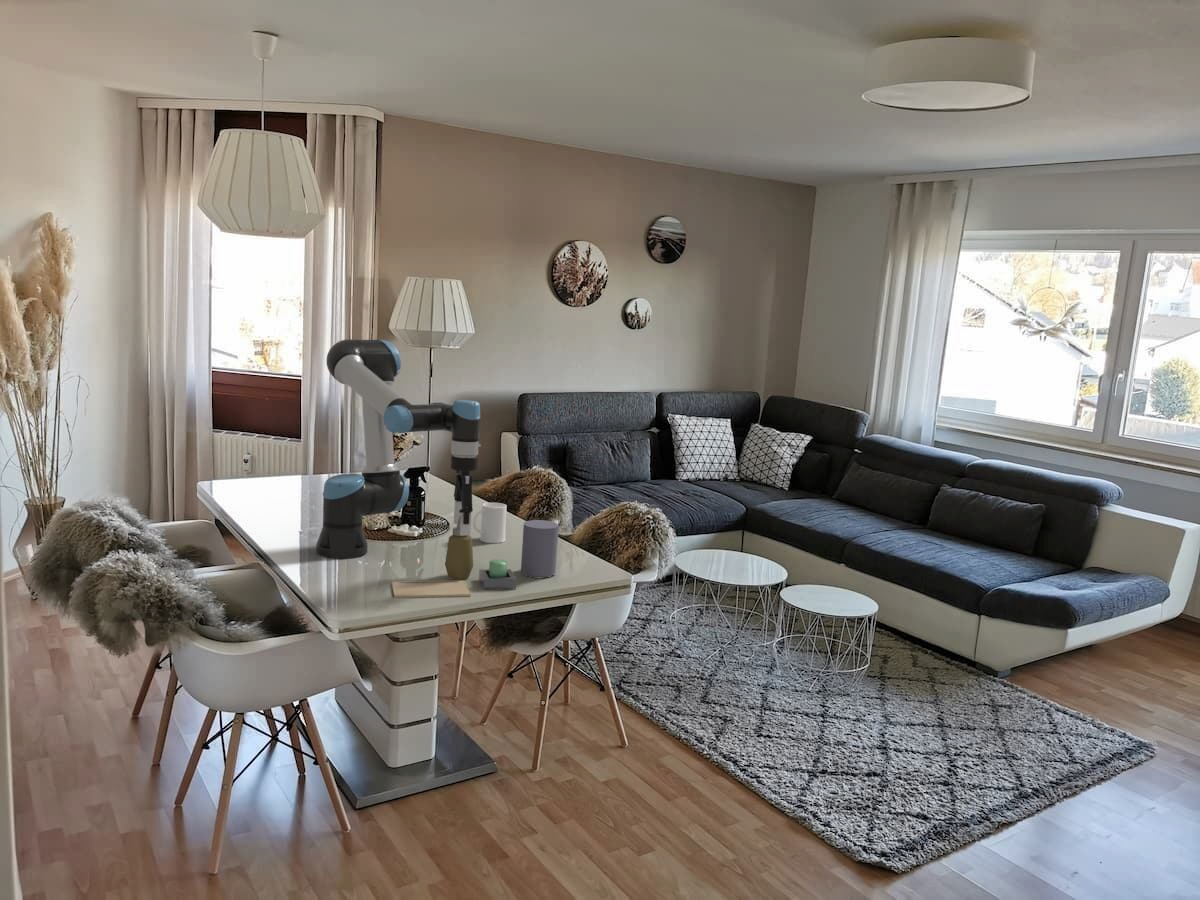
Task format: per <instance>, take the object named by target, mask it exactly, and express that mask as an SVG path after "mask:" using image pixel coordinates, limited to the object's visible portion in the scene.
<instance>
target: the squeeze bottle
mask: <svg viewBox="0 0 1200 900" xmlns="http://www.w3.org/2000/svg"><path fill="white" fill-rule="evenodd" d="M460 522H461V516H459V520H458V524H456V527H453V528H452V534H451V535H450V536H448V542H447V547H446V555H445V561H444V562H445V563H444V565H445V570H446V573H447V577H448V578H449V579H452V580H455V581H464V580H467V579H469V578H470V576H471V572H472V570H473V569H474V568H473V567H474V555H473V554H474V552H473V538H472V536H471V535H460Z"/></svg>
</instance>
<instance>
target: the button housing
mask: <svg viewBox="0 0 1200 900" xmlns="http://www.w3.org/2000/svg"><path fill="white" fill-rule="evenodd" d="M478 570H479V573H478V574H479V575H478V581H479V583H480V585H481V587H482V589H483V590H485V591H486V590H489V591H490V590H514V589H513V588H516V589H517V577H516V575H515V574H514V572H513V571H512V569H510V568H509V569H508V568H507V577H495V578H489V569H478Z"/></svg>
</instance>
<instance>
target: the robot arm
mask: <svg viewBox="0 0 1200 900" xmlns="http://www.w3.org/2000/svg"><path fill="white" fill-rule="evenodd" d="M399 352H400V351H398V348H397V347H396V346H395V345H394V344H393V343H392V342H390V341H388V340H381V339H351V338H349V339H347V338H345V339H341V340H340V341H337V342H336V343H334V344H333V345H332V346H331V347H330V348H329V350H328V352H327V356H326V367H327V370H328V372H329V374H330V375H331V377H333V378H334V379H335V380H336V381H338V383H340V384H342V385H347V386H348V387H349V388H350V389H352V391H354V392H355V393H356V394H357V395H358V396H360V397H361V404H362V406H361V407H362V418H363V419H362V420H363V433H364V451H365V463H366V464H365V467H364V469H363V470H362V471H361V474H360V473H359V474H358V473H342V474H336V475H333V476H331V477H329V478H328V479H326V481H325V482H324V485H323V492H322V497H323V498H322V499H323V502H322V503H323V504H322V529H321V531H320V533H319V536H318V539H317V542H316V543H315V544H316V545H315V553H316V555H319V556H321V557H325V558H328V559H329V558H331V559H353V558H358V557H362V556H364V555H367V553H368V547H369V546H368V545H369V544H368V542H367V539H366V535H365V531H364V529H363V528H364V527H363V522H364V521H363V519H364V517H365V516H366V517H367V516H372V515H380V514H381V515H382V514H390V513H393V512H394V513H395V512H398V511H400V510H401V509H403V508H404V507H405V505H406V503H407V502H408V498H409V495H410V494H409V493H410V487H409V486H410V485H409V483H408V481H407V478H406V476H404V475H402V474H401V471H400V470H401V469H400V468H399V467H398V466H397V465H396V463H395V452H394V437H393V434H395V433H398V434H406V433H418V432H419V433H420V432H432V431H433V432H434V431H447V432H450V433H451V432H452V433H451V446H450V447H451V448H450V449H451V451H450V452H451V455H452V456H451V457H450V458H451V459H450V468H451V469H452V470H454V471H456V475H455V484H454V492H453V498H454V499H453V500H454V508H453V509H454V511H453V513H454V514H453V524H454V525H455V524H456V525H457V524H458V520H459V516H461V522H460V535H469V536H471V523H472V522H471V521H472V519H471V518H472V512H473V509H474V508H473V490H472V489H473V488H472V487H473V485H472V484H473V477H472V476H471V475H470V473H471V472H474V471H477V470H478V469H479V457H478V455H479V448H481V447H482V446H481V443H480V442H479V441H480V427H481V426H480V425H481V424H480V423H481V404H480V402H479V401H476V400H469V399H457V400H454V401H453V404H447V403H444V402H429V403H427V404H412V403H411V402H410V401H408V400H407V399H405V398H404V397H403V396H401V394H399V393H398V392H397V391H396V390H394V388H392V386H393V385H394V383H395V377H397V376H398V375H399V374H400V370H402V369H401V367H402V360H401V354H400V353H399Z"/></svg>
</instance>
